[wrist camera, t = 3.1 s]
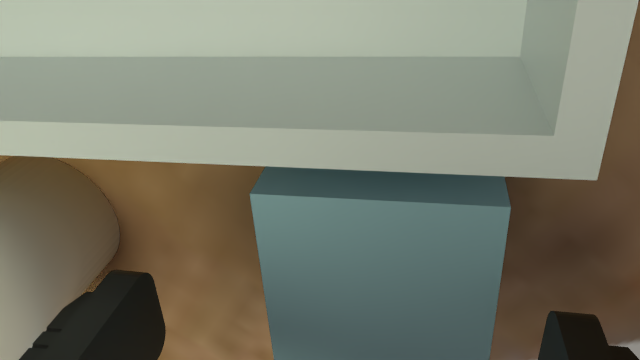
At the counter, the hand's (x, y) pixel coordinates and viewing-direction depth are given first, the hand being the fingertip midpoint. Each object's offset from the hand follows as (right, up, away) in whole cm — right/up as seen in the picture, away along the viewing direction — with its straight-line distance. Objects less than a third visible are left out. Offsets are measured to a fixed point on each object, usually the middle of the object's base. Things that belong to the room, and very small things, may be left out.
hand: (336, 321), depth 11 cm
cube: (+2, +3, +5) cm, 6 cm away
